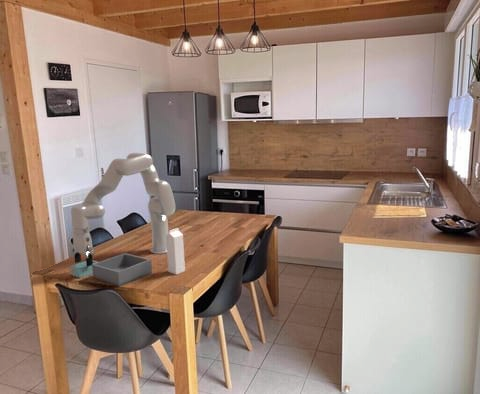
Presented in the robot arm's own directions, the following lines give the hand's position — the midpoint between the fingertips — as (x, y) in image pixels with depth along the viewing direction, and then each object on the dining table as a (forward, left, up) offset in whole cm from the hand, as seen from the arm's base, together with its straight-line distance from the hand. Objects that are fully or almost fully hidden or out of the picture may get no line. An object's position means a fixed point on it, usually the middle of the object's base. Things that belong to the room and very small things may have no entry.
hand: (83, 263), depth 210 cm
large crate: (-9, +19, -5) cm, 22 cm away
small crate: (-1, 0, -5) cm, 5 cm away
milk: (-27, +38, -5) cm, 47 cm away
